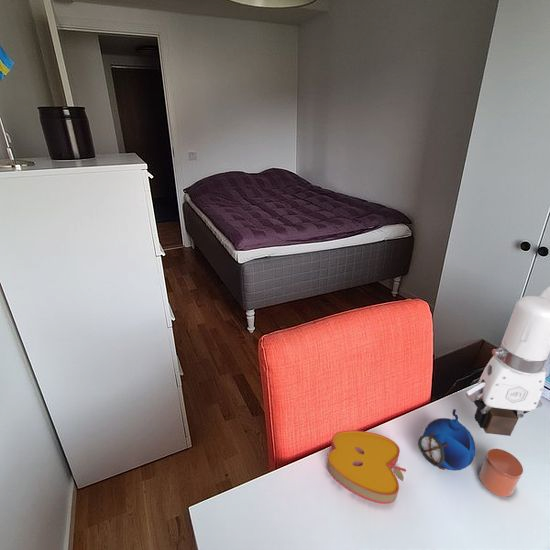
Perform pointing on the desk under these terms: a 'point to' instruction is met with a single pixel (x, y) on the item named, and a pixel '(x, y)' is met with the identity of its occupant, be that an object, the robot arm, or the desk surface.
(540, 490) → the desk surface
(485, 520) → the desk surface
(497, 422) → the walnut block
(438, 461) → the bomb
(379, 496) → the decorative object
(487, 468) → the terracotta pot
